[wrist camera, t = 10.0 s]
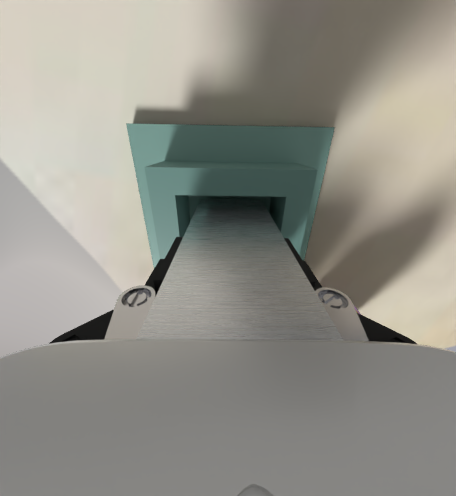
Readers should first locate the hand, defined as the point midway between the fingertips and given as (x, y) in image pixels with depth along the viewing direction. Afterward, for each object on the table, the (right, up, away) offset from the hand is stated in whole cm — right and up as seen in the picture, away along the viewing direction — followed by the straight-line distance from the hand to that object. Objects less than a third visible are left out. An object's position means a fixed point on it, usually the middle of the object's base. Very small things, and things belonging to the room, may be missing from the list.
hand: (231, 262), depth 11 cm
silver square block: (0, +2, +5) cm, 5 cm away
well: (0, +3, +6) cm, 7 cm away
